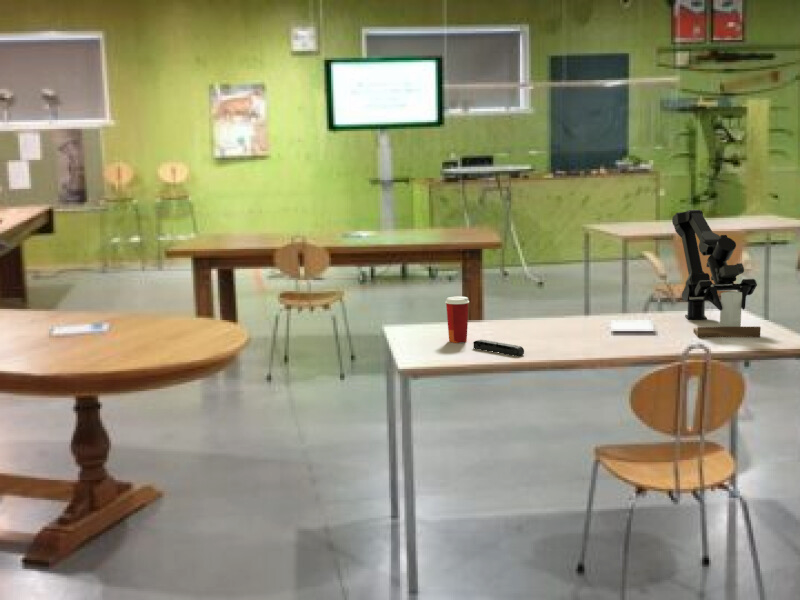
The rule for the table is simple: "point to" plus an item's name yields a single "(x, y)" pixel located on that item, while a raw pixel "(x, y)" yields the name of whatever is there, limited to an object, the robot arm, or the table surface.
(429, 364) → the table surface
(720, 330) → the brown angular block
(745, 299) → the robot arm
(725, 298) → the skincare box
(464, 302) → the paper cup
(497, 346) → the black long bar
